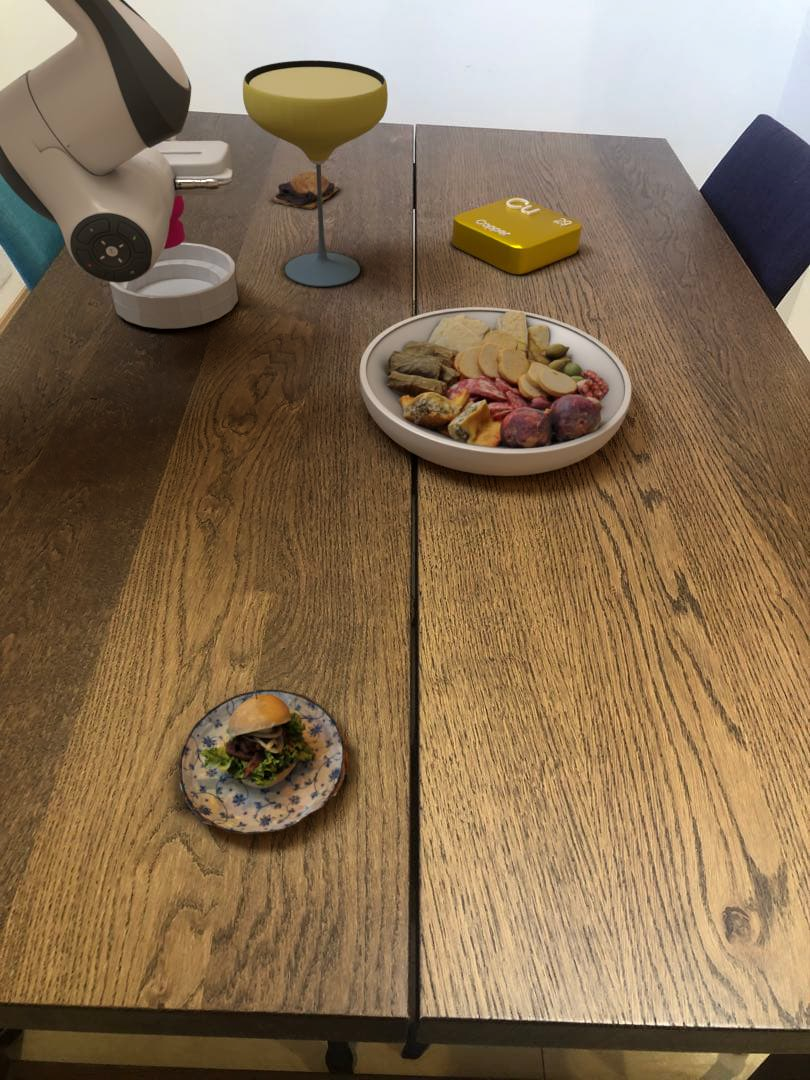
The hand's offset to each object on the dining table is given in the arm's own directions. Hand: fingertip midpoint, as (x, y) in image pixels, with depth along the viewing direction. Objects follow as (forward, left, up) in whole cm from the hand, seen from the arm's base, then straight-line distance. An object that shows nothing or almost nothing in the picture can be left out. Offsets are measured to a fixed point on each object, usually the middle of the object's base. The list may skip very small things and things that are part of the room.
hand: (144, 143), depth 95 cm
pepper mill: (0, -1, -11) cm, 11 cm away
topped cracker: (+19, +39, -21) cm, 48 cm away
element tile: (+50, +16, -21) cm, 57 cm away
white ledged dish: (0, +1, -21) cm, 21 cm away
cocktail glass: (+20, +10, -21) cm, 31 cm away
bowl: (+37, -27, -21) cm, 51 cm away
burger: (+11, -71, -21) cm, 75 cm away
